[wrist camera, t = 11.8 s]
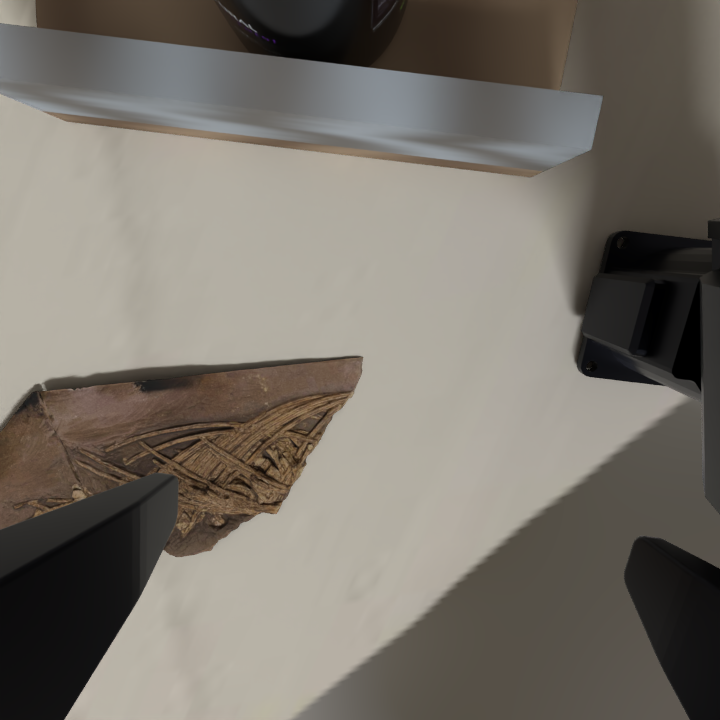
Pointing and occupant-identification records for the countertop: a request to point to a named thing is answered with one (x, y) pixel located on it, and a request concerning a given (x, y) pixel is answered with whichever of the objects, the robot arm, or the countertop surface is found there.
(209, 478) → the wooden fragment
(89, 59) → the cleat board
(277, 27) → the supplement bottle
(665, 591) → the robot arm
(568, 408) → the countertop surface
